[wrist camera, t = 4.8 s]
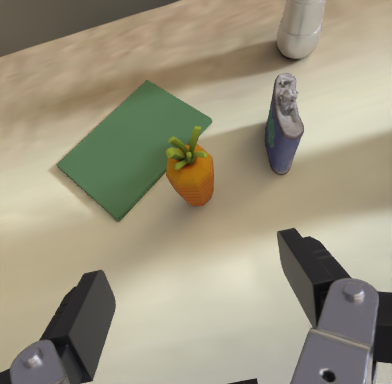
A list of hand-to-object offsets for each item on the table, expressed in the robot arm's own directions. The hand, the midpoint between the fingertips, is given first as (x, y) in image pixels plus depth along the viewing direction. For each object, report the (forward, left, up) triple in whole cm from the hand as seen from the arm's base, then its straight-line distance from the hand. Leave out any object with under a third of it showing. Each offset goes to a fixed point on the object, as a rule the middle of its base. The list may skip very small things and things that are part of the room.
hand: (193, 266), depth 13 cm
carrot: (+9, -7, -22) cm, 25 cm away
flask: (+6, -20, -22) cm, 31 cm away
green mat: (+23, -8, -22) cm, 33 cm away
